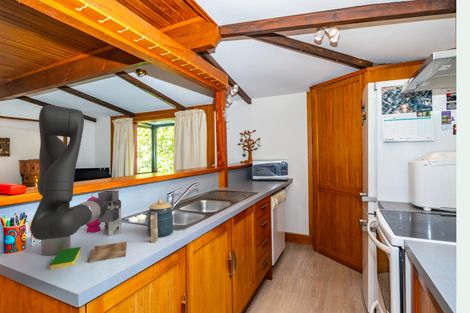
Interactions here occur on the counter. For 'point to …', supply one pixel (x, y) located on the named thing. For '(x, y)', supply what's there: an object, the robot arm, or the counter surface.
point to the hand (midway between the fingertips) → (111, 202)
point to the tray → (108, 251)
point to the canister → (161, 218)
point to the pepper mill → (95, 224)
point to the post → (154, 227)
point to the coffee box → (114, 226)
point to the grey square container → (113, 196)
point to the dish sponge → (65, 258)
